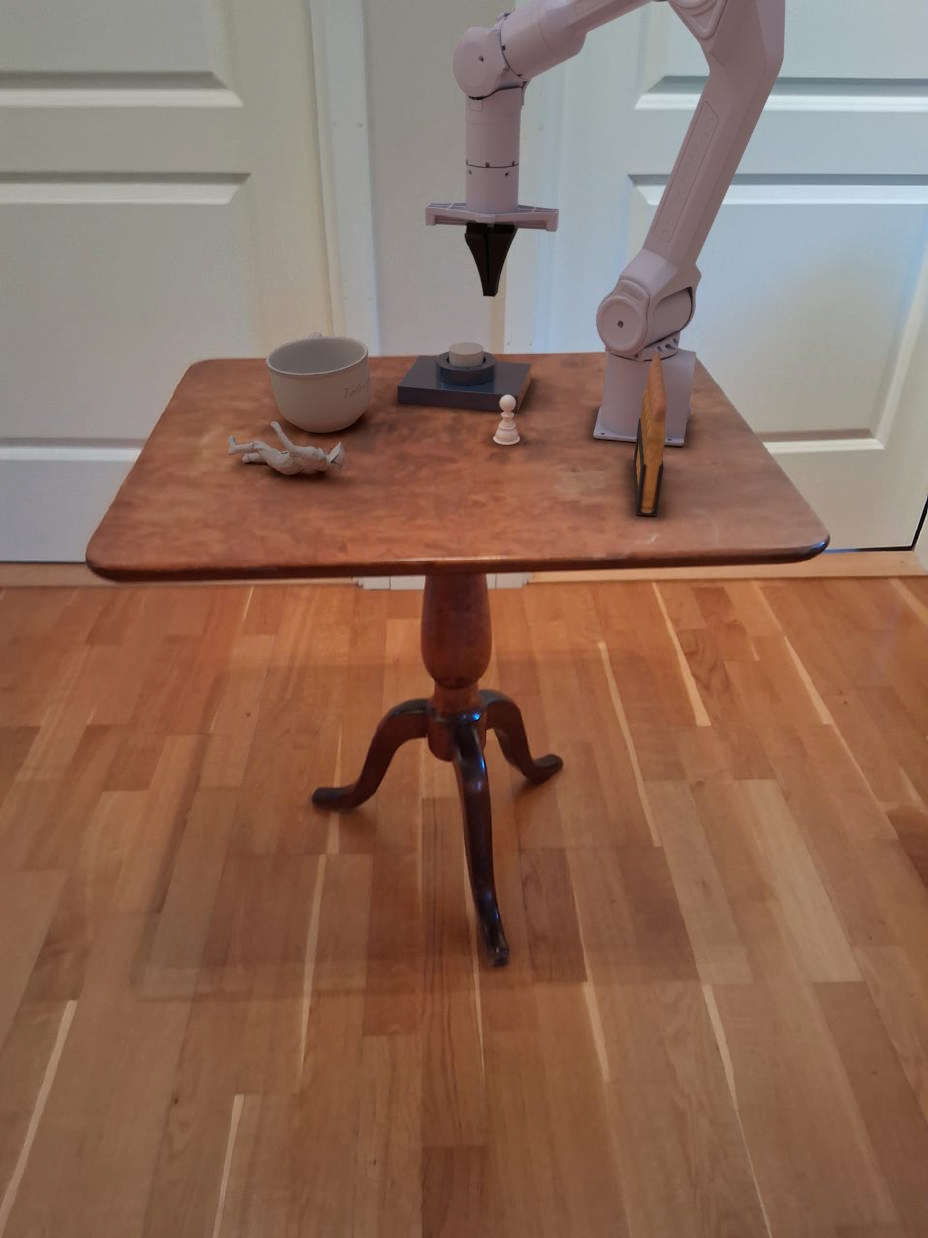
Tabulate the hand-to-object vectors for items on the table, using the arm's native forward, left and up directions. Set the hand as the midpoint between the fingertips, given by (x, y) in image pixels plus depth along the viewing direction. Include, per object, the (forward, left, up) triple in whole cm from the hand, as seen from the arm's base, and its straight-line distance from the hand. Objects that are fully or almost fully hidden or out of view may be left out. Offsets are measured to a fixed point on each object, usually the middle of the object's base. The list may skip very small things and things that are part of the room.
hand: (490, 293), depth 103 cm
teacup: (+16, +14, -11) cm, 24 cm away
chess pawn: (-5, +16, -11) cm, 20 cm away
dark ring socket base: (+2, +4, -10) cm, 11 cm away
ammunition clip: (-20, +24, -11) cm, 33 cm away
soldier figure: (+15, +28, -11) cm, 33 cm away
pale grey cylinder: (+2, +4, -7) cm, 8 cm away
